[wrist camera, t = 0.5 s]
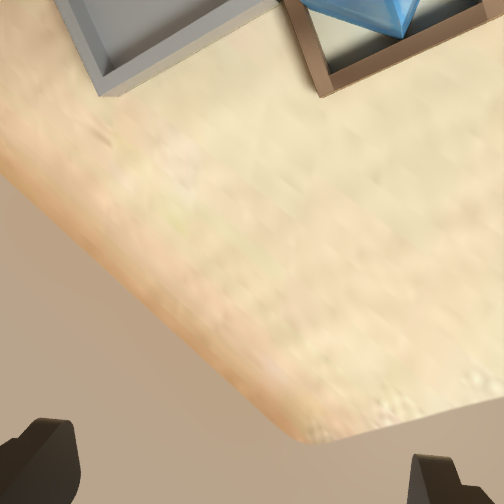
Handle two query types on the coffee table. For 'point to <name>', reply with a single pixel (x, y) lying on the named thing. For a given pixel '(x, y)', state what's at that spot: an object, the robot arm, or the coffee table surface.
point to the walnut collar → (488, 8)
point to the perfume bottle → (370, 13)
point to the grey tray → (148, 34)
